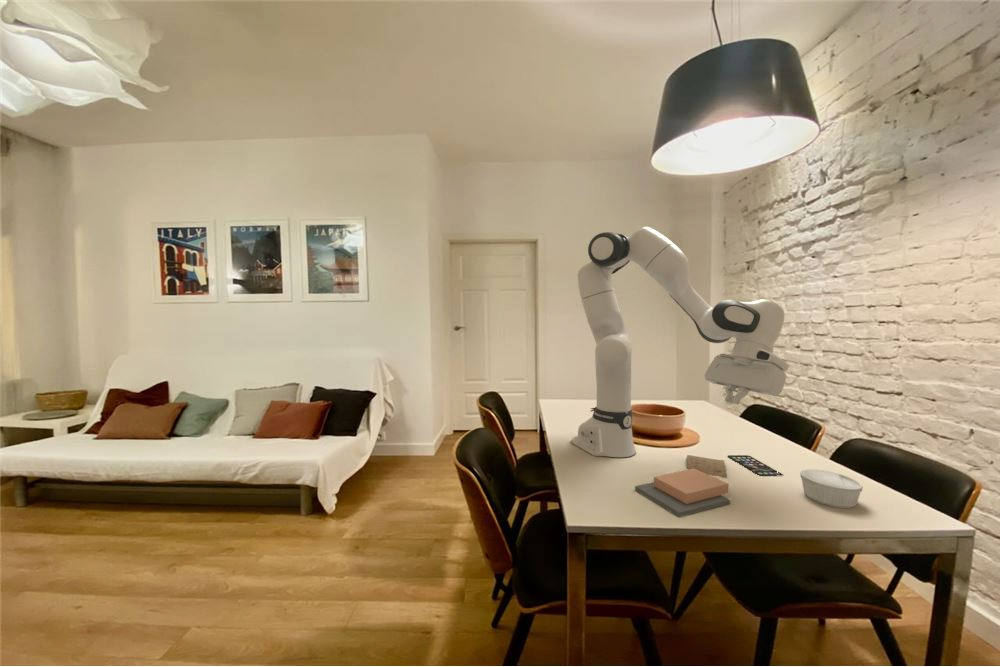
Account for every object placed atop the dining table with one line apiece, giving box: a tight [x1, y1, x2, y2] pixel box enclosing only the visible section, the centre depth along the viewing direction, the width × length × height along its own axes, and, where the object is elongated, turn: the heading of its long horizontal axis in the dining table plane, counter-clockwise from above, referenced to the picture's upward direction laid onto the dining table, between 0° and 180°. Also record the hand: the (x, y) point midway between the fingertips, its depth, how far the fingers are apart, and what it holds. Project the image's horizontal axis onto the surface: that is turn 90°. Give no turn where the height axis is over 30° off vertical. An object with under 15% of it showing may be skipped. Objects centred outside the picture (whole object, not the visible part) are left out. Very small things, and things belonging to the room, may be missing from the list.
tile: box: [653, 469, 730, 504], centre depth 93 cm, size 10×3×14 cm
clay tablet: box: [686, 454, 728, 479], centre depth 110 cm, size 14×10×3 cm
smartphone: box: [726, 454, 784, 477], centre depth 111 cm, size 7×1×15 cm
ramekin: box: [799, 468, 863, 509], centre depth 90 cm, size 11×11×5 cm
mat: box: [634, 481, 731, 518], centre depth 92 cm, size 14×16×1 cm
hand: (731, 402), depth 100 cm, fingers closed
